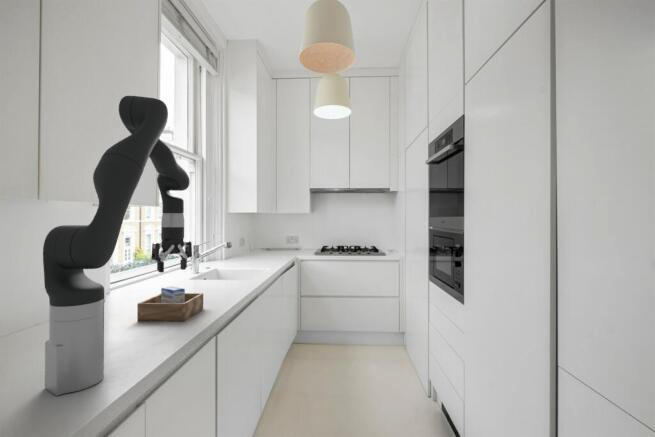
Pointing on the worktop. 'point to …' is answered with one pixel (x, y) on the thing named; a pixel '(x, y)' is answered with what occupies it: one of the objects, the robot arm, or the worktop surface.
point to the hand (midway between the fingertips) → (172, 270)
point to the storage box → (169, 309)
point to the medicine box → (172, 295)
